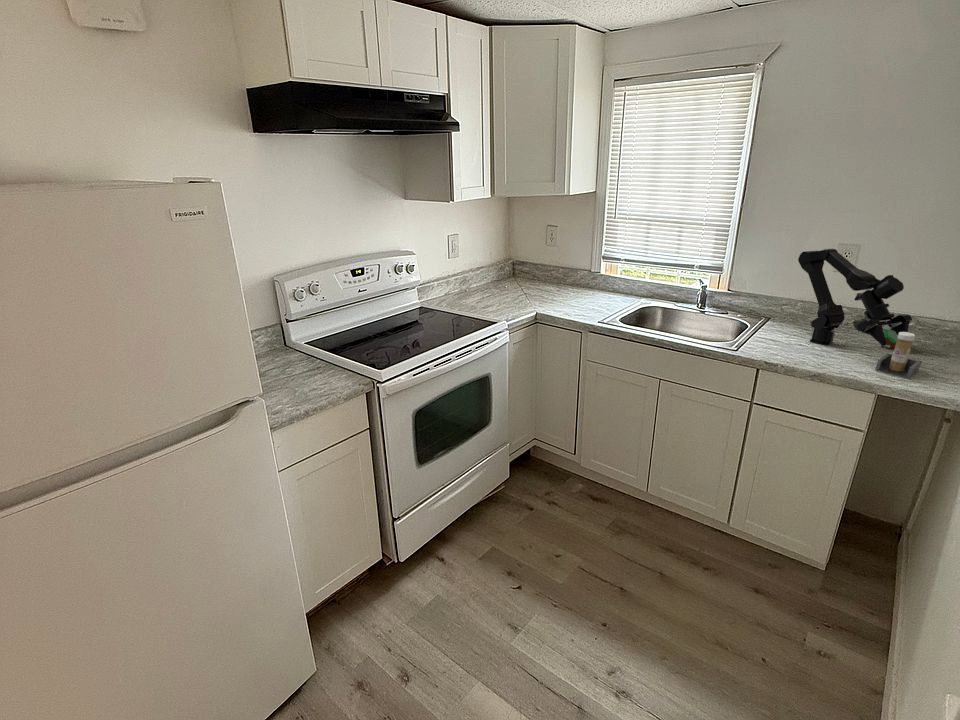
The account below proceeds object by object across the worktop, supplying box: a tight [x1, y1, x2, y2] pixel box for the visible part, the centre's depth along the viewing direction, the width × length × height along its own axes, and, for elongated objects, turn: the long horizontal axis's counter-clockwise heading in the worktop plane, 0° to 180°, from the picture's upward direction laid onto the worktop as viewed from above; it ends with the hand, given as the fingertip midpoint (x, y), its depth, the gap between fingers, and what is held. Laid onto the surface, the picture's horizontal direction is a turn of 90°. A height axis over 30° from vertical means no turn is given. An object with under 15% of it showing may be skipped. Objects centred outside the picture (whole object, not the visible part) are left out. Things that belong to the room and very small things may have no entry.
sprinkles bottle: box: [889, 332, 916, 372], centre depth 179 cm, size 5×5×14 cm
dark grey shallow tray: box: [874, 353, 923, 380], centre depth 181 cm, size 10×10×4 cm
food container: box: [880, 321, 916, 351], centre depth 200 cm, size 12×6×10 cm, turn 106°
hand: (894, 344), depth 181 cm, fingers open, 9 cm apart
